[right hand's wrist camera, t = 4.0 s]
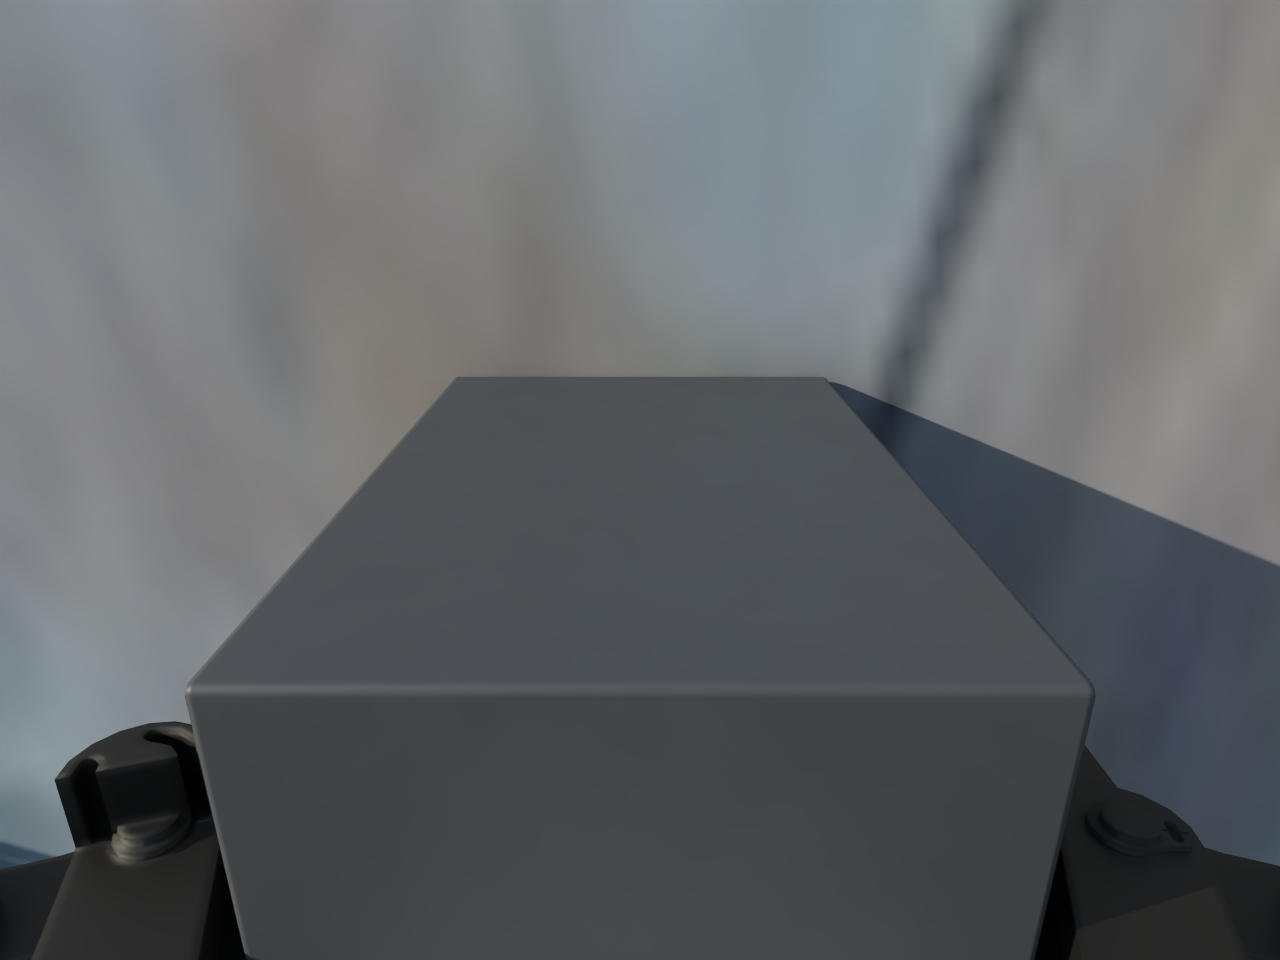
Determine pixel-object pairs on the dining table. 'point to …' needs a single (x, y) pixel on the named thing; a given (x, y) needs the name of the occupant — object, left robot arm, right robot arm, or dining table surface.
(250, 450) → the dining table surface
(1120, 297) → the dining table surface
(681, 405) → the box
